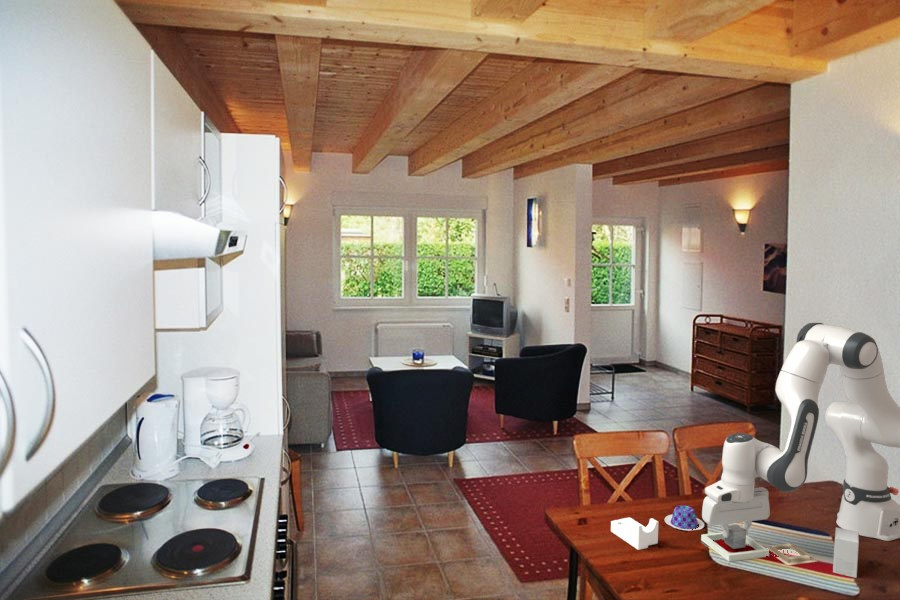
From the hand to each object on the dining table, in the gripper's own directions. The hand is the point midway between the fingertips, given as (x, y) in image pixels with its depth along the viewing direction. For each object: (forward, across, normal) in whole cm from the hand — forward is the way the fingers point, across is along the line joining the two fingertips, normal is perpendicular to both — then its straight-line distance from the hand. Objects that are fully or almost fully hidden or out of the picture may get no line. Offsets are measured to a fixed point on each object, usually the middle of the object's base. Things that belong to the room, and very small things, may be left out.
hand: (735, 535), depth 191 cm
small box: (+5, -22, +17) cm, 28 cm away
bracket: (+5, +25, -14) cm, 29 cm away
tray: (+5, 0, 0) cm, 5 cm away
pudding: (+5, +4, -19) cm, 20 cm away
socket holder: (+5, -13, +7) cm, 15 cm away
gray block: (+3, 0, 0) cm, 3 cm away
